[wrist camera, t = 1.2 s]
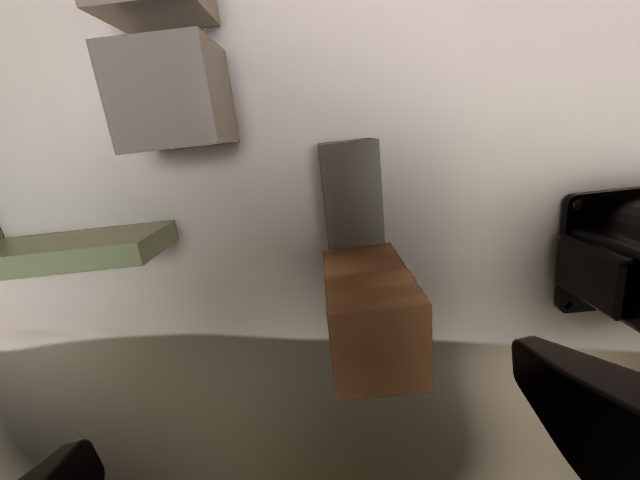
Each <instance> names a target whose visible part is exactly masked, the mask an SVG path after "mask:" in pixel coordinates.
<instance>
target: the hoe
mask: <svg viewBox="0 0 640 480" xmlns="http://www.w3.org/2000/svg"><path fill="white" fill-rule="evenodd" d="M318 151H319V160H320V170H321V180H322V189H323V199H324V208H325V218H326V228H327V237H328V247H329V249H327V250H323V255H324V273H325V291H326V309H327V321H328V330H329V339H330V347H331V357H332V366H333V374H334V383H335V392H336V401H345V400H357V399H368V398H378V397H389V396H399V395H410V394H421V393H431V392H433V354H432V353H433V352H432V304H431V303H430V301H429V300H428V298H427V297H426V295H425V294H424V292H423V291H422V289H421V288H420V287H419V285H418V284H417V282H416V281H415V279H414V278H413V276H412V275H411V273H410V272H409V270H408V269H407V267H406V266H405V264H404V263H403V261H402V260H401V258H400V257H399V255H398V254H397V252H396V251H395V249H394V248H393V246H392V245H391V243H385V239H384V222H383V204H382V187H381V169H380V152H379V139H375V138H364V139H355V140H346V141H337V142H327V143H318Z"/></svg>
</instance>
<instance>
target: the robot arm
mask: <svg viewBox="0 0 640 480" xmlns="http://www.w3.org/2000/svg"><path fill="white" fill-rule="evenodd" d="M576 200H577V201H578V204H577V206H576V207H574V208H573V203H574V202H575V201H576ZM555 282H556V286H555V297H554V306H555V307H556V308H557V309H558V310H560V311H561V312H563V313H575V312H585V311H596V310H598V311H600V312H602V313H603V314H605V315H606V316H608V317H610V318H611V319H613V320H615V321H621V322H623V323H625V324H626V325H628V326H630V327H631V328H633V329H634V330H636V331H638V332H639V333H640V187H630V188H620V189H611V190H601V191H592V192H582V193H573V194H570V195H568V196H567V197H566V198H565V199H564V201H563V206H562V218H561V229H560V237H559V239H558V247H557V259H556V270H555ZM566 301H568V303H567V304H566V305H564V303H565V302H566ZM563 305H564V306H563ZM512 362H513V374H514V378H515V380H516V382H517V384H518V386H519V388H520V389H521V391H522V392H523V394H524V396H525V397H526V399H527V400H528V402H529V403H530V405H531V406H532V408H533V410H534V411H535V413H536V414H537V416H538V418H539V419H540V421H541V422H542V424H543V425H544V427H545V429H546V430H547V432H548V433H549V435H550V437H551V438H552V440H553V441H554V443H555V444H556V446H557V447H558V449H559V450H560V452H561V453H562V455H563V456H564V457H565V459H566V460H567V462H568V463H569V464H570V466H571V467H572V468H573V469H574V471H575V472H576V473H577V475H578V476H579V477H580V479H581V480H640V372H637V371H634V370H632V369H629V368H626V367H622V366H620V365H617V364H614V363H611V362H608V361H605V360H602V359H600V358H596V357H594V356H591V355H588V354H585V353H582V352H579V351H576V350H573V349H571V348H568V347H565V346H562V345H559V344H556V343H553V342H550V341H547V340H544V339H541V338H539V337H536V336H527V337H523V338H519V339H515V340H514V341H513V342H512ZM104 478H105V470H104V466H103V464H102V462H101V460H100V458H99V456H98V454H97V452H96V450H95V448H94V446H93V444H92V443H91V441H89V440H88V439H79V440H75V441H70V442H67V443H65V444H63V445H62V446H60V447H59V448H58V449H56V450H55V451H54V452H53V453H51V454H50V455H49V456H47V457H46V458H45V459H44V460H42V461H41V462H40V463H38V464H37V465H36V466H34V467H33V468H32V469H30V470H29V471H28V472H27V473H25V474H24V475H23V476H21V477H20V478H19V479H18V480H104Z"/></svg>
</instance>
